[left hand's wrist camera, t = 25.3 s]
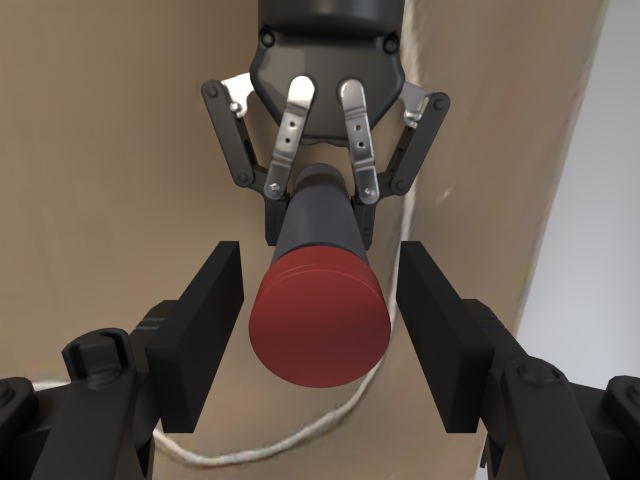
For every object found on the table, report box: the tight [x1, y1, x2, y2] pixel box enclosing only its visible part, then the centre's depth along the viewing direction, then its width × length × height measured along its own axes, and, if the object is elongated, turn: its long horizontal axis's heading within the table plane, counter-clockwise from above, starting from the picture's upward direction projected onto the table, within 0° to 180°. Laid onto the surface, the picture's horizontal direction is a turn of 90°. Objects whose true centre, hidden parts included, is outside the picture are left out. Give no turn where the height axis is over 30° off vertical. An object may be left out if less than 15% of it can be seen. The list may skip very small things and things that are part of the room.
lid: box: [249, 246, 391, 388], centre depth 11 cm, size 4×4×2 cm
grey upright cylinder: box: [270, 163, 370, 267], centre depth 20 cm, size 4×4×18 cm
